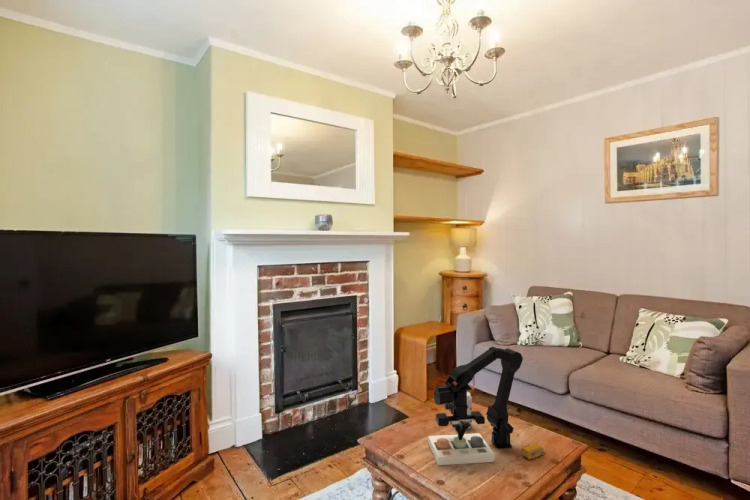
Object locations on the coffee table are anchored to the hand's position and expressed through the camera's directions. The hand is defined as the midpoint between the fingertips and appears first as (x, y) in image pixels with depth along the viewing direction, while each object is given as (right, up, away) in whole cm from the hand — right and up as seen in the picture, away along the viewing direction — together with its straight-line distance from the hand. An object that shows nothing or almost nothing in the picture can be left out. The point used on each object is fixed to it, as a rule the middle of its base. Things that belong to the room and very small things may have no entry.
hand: (460, 439), depth 154 cm
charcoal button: (+7, -3, +1) cm, 8 cm away
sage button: (0, -3, 0) cm, 3 cm away
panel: (0, -5, 0) cm, 5 cm away
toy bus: (+28, -5, -3) cm, 29 cm away
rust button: (-7, -3, -1) cm, 8 cm away
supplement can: (+6, -5, +22) cm, 23 cm away
